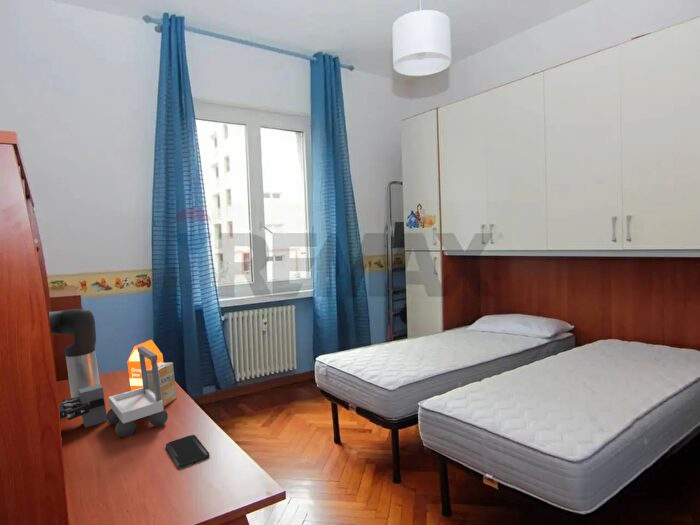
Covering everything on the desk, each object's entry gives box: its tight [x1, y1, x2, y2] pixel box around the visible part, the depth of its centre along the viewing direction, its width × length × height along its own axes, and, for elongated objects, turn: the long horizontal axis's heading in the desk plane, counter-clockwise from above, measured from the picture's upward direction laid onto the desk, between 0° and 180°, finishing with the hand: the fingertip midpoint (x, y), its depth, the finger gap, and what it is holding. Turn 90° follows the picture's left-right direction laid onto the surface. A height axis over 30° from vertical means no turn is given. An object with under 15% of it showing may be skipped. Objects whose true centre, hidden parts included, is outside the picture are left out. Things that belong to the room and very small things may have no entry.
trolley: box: [106, 346, 169, 439], centre depth 132 cm, size 18×14×22 cm
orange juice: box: [127, 339, 164, 391], centre depth 154 cm, size 8×9×20 cm
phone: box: [165, 434, 211, 469], centre depth 113 cm, size 8×1×15 cm
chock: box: [79, 383, 108, 428], centre depth 137 cm, size 4×6×11 cm
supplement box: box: [147, 362, 177, 408], centre depth 148 cm, size 8×5×13 cm, turn 168°
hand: (102, 399), depth 138 cm, fingers closed on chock, 4 cm apart
